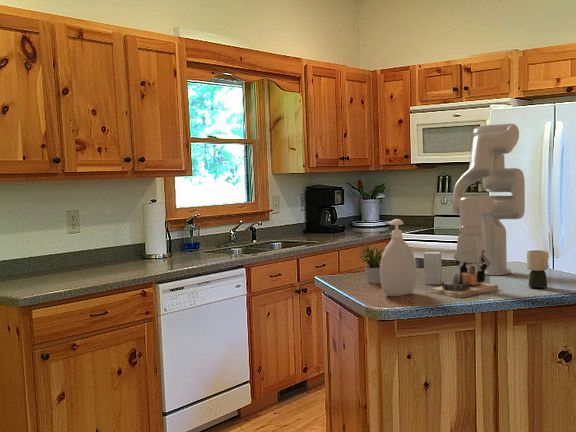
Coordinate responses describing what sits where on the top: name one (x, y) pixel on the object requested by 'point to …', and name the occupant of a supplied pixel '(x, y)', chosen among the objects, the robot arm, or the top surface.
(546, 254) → the character mug
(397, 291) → the soap bottle
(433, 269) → the skincare box
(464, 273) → the loose gear
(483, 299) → the top surface
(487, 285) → the gear board
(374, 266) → the house plant
